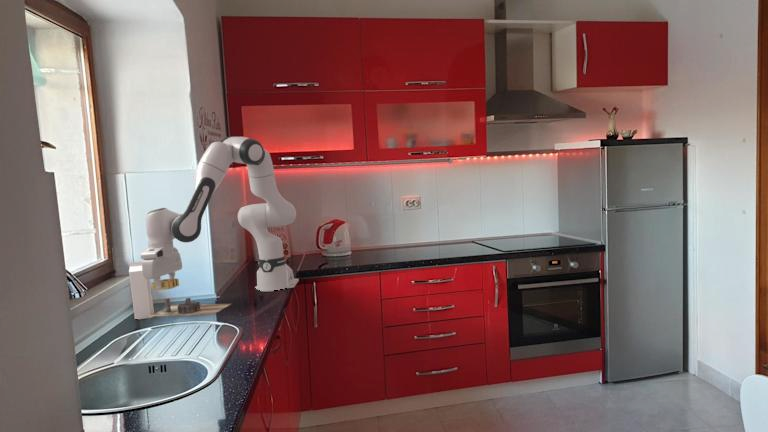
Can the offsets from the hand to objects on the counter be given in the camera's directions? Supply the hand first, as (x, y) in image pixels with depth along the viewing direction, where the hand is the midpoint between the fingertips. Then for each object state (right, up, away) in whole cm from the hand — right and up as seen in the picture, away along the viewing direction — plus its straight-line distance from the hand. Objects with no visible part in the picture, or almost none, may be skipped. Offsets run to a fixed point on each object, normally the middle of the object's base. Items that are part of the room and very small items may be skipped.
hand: (165, 286), depth 199 cm
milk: (-9, -13, +3) cm, 16 cm away
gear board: (+9, -11, +2) cm, 15 cm away
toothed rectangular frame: (0, -1, 0) cm, 1 cm away
